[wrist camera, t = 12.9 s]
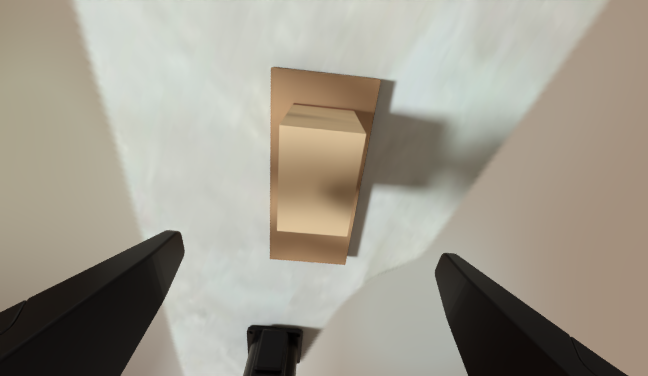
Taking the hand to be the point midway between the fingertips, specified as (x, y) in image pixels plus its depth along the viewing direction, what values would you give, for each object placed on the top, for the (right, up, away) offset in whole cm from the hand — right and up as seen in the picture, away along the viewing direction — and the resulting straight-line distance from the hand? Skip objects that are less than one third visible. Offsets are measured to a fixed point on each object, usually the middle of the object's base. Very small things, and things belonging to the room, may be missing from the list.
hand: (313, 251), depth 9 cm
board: (0, +3, +12) cm, 12 cm away
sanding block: (0, +5, +10) cm, 11 cm away
